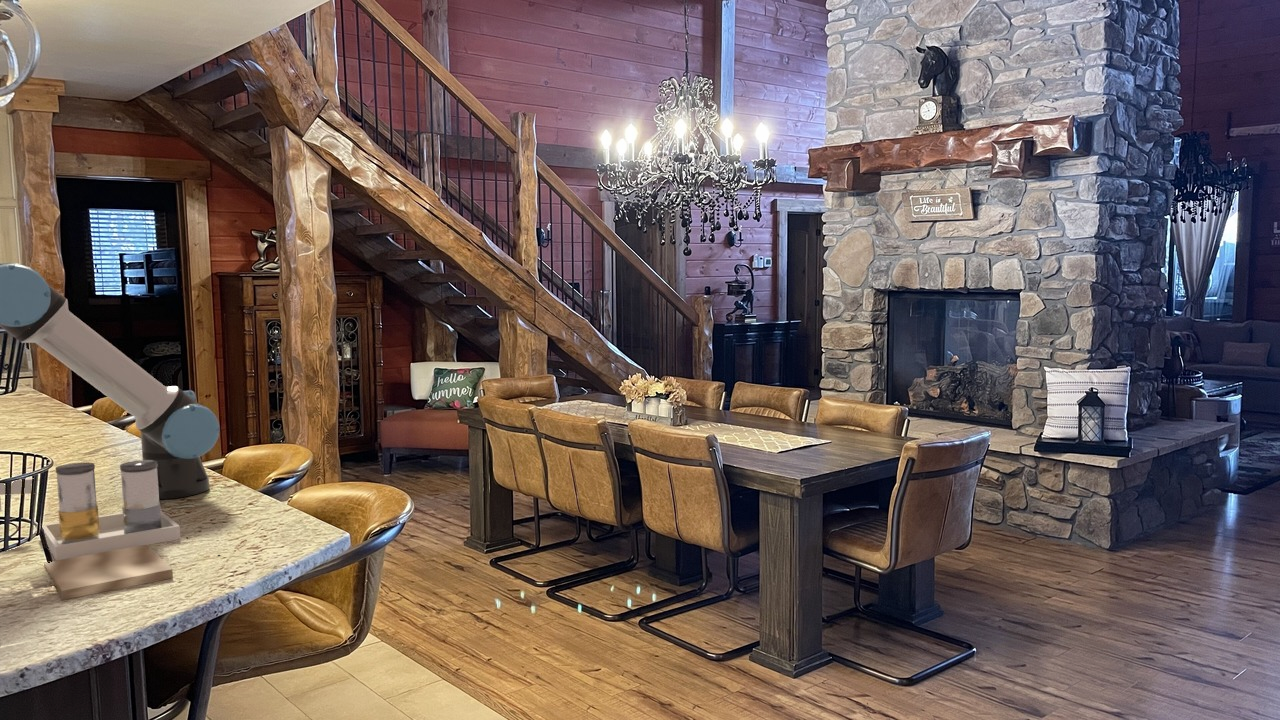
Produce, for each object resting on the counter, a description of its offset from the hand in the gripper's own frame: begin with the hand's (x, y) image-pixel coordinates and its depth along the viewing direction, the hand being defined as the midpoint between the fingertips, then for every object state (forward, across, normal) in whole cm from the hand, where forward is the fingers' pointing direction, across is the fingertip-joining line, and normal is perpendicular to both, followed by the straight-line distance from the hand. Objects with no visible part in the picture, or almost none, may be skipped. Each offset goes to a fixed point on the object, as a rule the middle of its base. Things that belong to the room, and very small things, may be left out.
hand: (18, 494), depth 177 cm
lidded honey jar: (+10, 0, -9) cm, 14 cm away
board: (+21, +19, -10) cm, 30 cm away
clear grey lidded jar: (+21, 0, -9) cm, 23 cm away
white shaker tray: (+15, 0, -10) cm, 18 cm away
